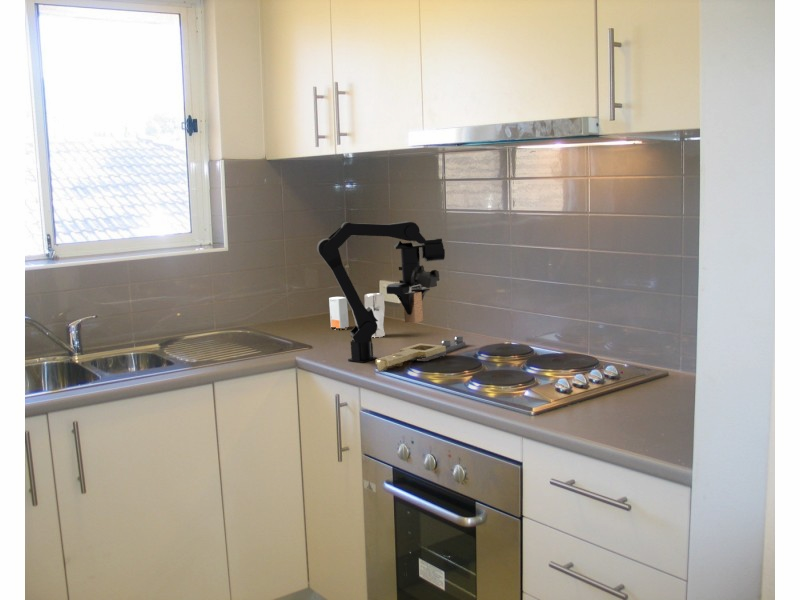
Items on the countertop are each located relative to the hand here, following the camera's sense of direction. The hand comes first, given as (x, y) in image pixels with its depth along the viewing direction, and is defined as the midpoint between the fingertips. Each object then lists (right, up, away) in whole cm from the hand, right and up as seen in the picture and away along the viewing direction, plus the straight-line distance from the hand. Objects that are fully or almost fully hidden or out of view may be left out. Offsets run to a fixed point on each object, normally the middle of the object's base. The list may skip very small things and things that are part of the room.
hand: (413, 313), depth 250 cm
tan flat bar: (+3, -13, -2) cm, 14 cm away
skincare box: (-27, -7, +57) cm, 63 cm away
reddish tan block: (0, -3, 0) cm, 3 cm away
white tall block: (-13, -9, +37) cm, 40 cm away
